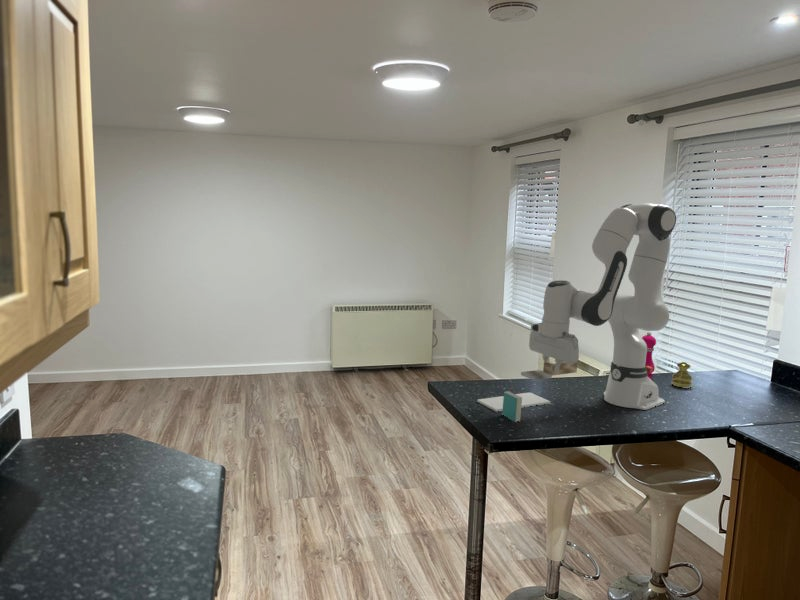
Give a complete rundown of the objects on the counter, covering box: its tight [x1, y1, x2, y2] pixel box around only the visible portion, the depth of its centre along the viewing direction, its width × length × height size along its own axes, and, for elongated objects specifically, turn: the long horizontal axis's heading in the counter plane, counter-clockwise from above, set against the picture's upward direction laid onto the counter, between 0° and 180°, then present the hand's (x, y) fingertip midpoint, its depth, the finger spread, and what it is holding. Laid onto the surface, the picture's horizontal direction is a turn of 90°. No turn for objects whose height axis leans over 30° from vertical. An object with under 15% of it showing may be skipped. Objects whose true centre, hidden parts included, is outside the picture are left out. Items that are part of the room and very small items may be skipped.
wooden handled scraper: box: [520, 360, 579, 381], centre depth 198 cm, size 21×6×4 cm, turn 119°
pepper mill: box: [641, 331, 657, 380], centre depth 248 cm, size 7×7×20 cm
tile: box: [501, 390, 522, 423], centre depth 192 cm, size 2×7×8 cm, turn 28°
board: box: [476, 392, 551, 413], centre depth 208 cm, size 24×11×1 cm, turn 118°
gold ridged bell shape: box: [671, 361, 693, 388], centre depth 239 cm, size 7×7×10 cm
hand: (551, 369), depth 198 cm, fingers closed on wooden handled scraper, 2 cm apart
